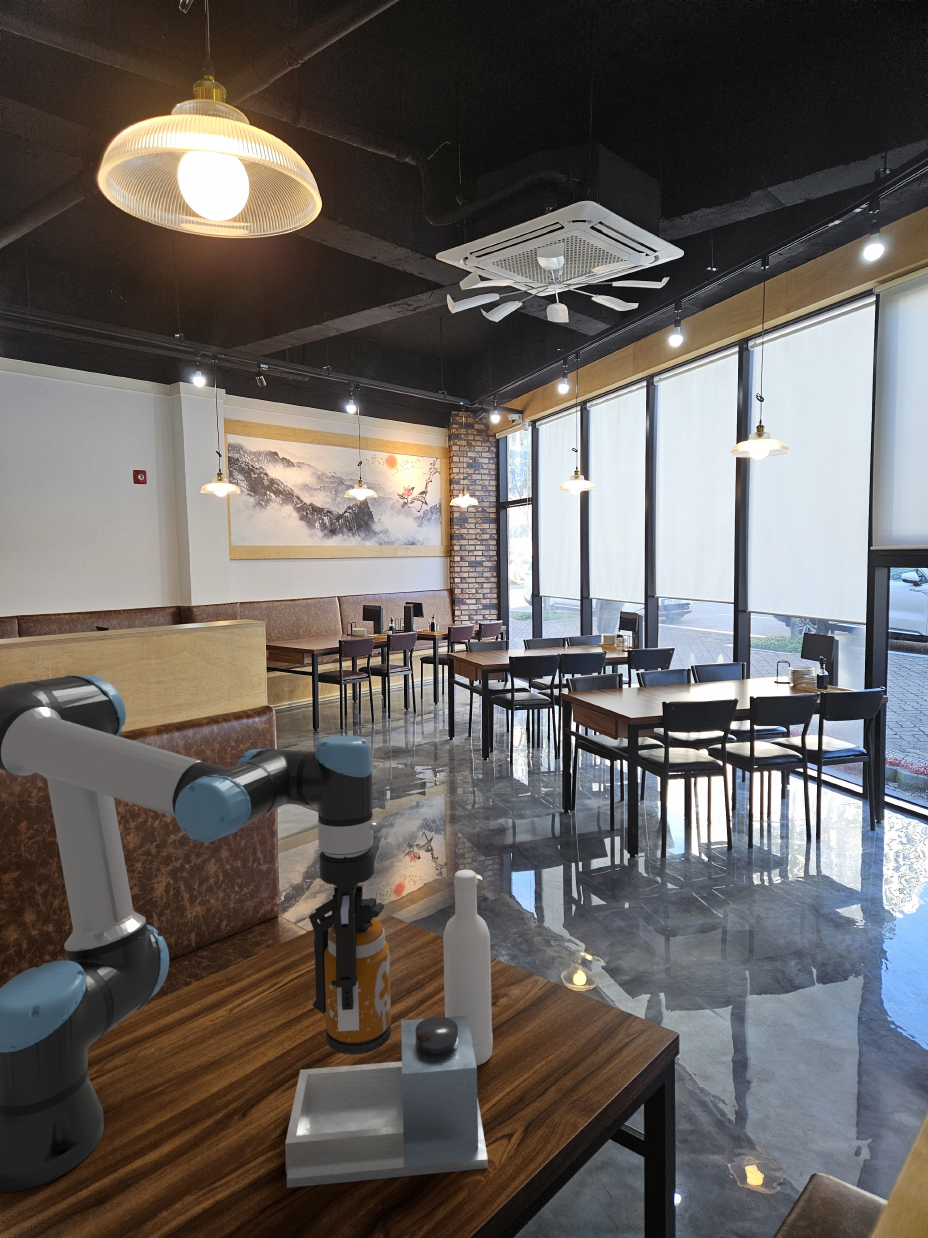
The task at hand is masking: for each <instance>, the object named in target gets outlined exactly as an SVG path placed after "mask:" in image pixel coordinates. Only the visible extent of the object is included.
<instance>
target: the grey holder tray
mask: <svg viewBox="0 0 928 1238" xmlns="http://www.w3.org/2000/svg"><path fill="white" fill-rule="evenodd" d="M400 1022H401V1023H400V1024H401V1033H400V1034H401V1036H400V1037H401V1061H392V1062H391V1061H390V1062H389V1061H388V1062H381V1063H380V1062H378V1063H367V1064H365V1063H364V1064H356V1065H343V1066H330V1067H320V1068H319V1067H318V1068H306V1069H300V1070H299V1075H298V1080H297V1084H296V1088H295V1089H296V1090H295V1094H294V1099H293V1105H292V1109H291V1115H290V1118H289V1124H288V1129H287V1133H286V1139H285V1144H284V1145H285V1147H284V1148H285V1175H286V1188H287V1189H288V1188H289V1189H291V1188H300V1187H307V1186H308V1187H309V1186H319V1185H321V1186H322V1185H331V1184H339V1183H349V1182H351V1183H352V1182H361V1181H369V1180H370V1181H373V1180H380V1179H381V1180H382V1179H389V1178H390V1179H391V1178H402V1177H409V1176H410V1177H411V1176H420V1175H421V1176H423V1175H431V1174H441V1173H442V1174H443V1173H450V1172H451V1173H452V1172H461V1171H474V1170H481V1169H488V1168H489V1160H488V1152H487V1147H486V1141H485V1136H484V1128H483V1121H482V1115H481V1111H480V1110H481V1109H480V1105H479V1099H478V1097H479V1096H478V1070H477V1069H478V1068H477V1067H478V1066H476V1060H475V1055H474V1049H473V1043H472V1037H471V1032H470V1026H469V1020H468V1015H467V1016H454V1017H445V1016H431V1017H426V1018H417V1019H406V1020H405V1019H403V1020H402V1019H401V1021H400Z"/></svg>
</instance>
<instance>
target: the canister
mask: <svg viewBox="0 0 928 1238" xmlns="http://www.w3.org/2000/svg"><path fill="white" fill-rule="evenodd" d="M384 909H385V904H383V903H382V902H377V899H376V898H375V897H369V898H362V905H361V906H360V925H359V927H357V929H356V976H357V979H358V1000H359V1030H350V1031H338V999H337V988H336V985H335V986H332V980H336V928H335V926H334V907H333V898H331V899H329V900H327V902H324V903H323V904H321V905H320V906H318V907H317V908H315V909H314V912H313V913H311V914H309V915H308V918H309V921H310V924H311V927H312V930H313V932H314V933H313V934H314V939H313V941H314V942H313V950H314V952H313V953H314V970H315V972H314V973H315V1000H314V1002H313V1003H312V1005H311V1006H312V1007H313V1008H315V1009H316V1010H318V1011H319V1012H320V1013H321V1014H323V1015H325V1028H326V1030H325V1032H326V1033H325V1035H326V1043H327V1045H328V1046H329V1048H330V1049H332V1050H333V1052H336V1053H339V1054H343V1055H351V1056H352V1055H353V1056H354V1055H355V1056H357V1055H363V1054H368V1053H371V1052H373V1051H376V1050H378V1049H379V1048H381V1047H383V1046H384V1045H385V1044H386V1043H387V1042H388V1040H389V1039H390V1037H391V1035H392V1022H391V1019H392V1016H391V1015H392V1013H391V979H390V978H391V976H390V975H391V972H390V969H391V968H390V945H389V943H388V942H387V941H386V937H385V936H386V932H385V928H384V926H383V924H382V923H381V922H380V920H378V919H376V918H377V917H379V915H380V914H381V913H382V911H383V910H384ZM330 912H331V914H329V913H330ZM327 914H329V915H327ZM326 915H327V916H326ZM355 920H356V916H355Z"/></svg>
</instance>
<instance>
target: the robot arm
mask: <svg viewBox="0 0 928 1238" xmlns="http://www.w3.org/2000/svg"><path fill="white" fill-rule="evenodd" d="M126 719H127V712H126V706H125V703H124V700H123V698H122V696H121V694H120V692H119V691H118V690H117V689H116V687H114V685H113V684H112V683H110V682H108V681H107V680H106V679H104V678H102V677H100V676H96V675H89V674H88V675H87V674H85V675H84V674H83V675H75V674H74V675H66V676H62V677H61V676H60V677H54V678H48V679H47V678H46V679H39V680H33V681H27V682H26V681H25V682H16V683H15V682H14V683H9V684H5V685H4V686H0V771H3V772H6V773H10V774H13V775H16V776H21V777H22V776H23V777H26V776H31V775H34V774H39V775H40V776H43V777H44V778H45V779H46V781H47V786H48V787H47V788H48V793H49V798H50V804H51V810H52V816H53V822H54V827H55V831H56V834H55V835H56V838H57V845H58V850H59V855H60V862H61V867H62V873H63V874H62V875H63V878H64V883H65V884H64V885H65V890H66V896H67V902H68V907H69V913H70V919H71V925H72V929H73V930H72V932H71V934H70V935H69V937H68V938H67V940H66V941H65V943H64V946H63V947H64V948H63V949H64V953H65V957H66V960H65V959H64V960H63V959H62V960H54V961H49V962H45V963H42V965H40V966H38V967H36V966H33V967H31V968H29V969H26V970H24V971H22V972H20V973H19V974H17V975H16V976H14V977H13V978H11V979H9V980H8V981H7V982H6V983H5V984H4V985H2V986H1V987H0V1192H2V1193H4V1192H5V1193H12V1192H20V1191H25V1190H29V1189H33V1188H36V1187H38V1186H42V1185H45V1184H47V1183H50V1182H52V1181H53V1180H55V1179H58V1178H59V1177H61V1176H63V1175H65V1174H67V1173H68V1172H70V1171H71V1170H73V1169H74V1168H76V1167H77V1166H78V1165H80V1164H81V1163H82V1162H83V1161H84V1160H85V1159H86V1158H88V1157H89V1156H90V1154H91V1153H92V1152H93V1151H94V1150H95V1148H97V1146H98V1144H99V1142H100V1141H101V1138H102V1136H103V1133H104V1124H105V1121H104V1109H103V1107H102V1104H101V1102H100V1100H99V1098H98V1095H97V1093H96V1091H95V1088H94V1086H93V1084H92V1082H91V1080H90V1077H89V1067H88V1066H89V1065H88V1064H89V1063H88V1049H89V1047H90V1046H91V1045H92V1044H94V1043H95V1042H96V1041H98V1040H99V1039H100V1038H101V1037H103V1036H105V1034H107V1033H108V1032H110V1031H111V1030H112V1029H113V1028H115V1027H116V1026H117V1025H119V1024H120V1023H121V1022H123V1021H124V1020H125V1019H127V1018H128V1017H129V1016H131V1015H132V1014H133V1013H134V1012H137V1011H139V1010H140V1009H142V1008H143V1007H144V1006H145V1005H146V1004H147V1003H148V1002H149V1000H151V999H152V997H153V996H155V995H156V994H157V993H158V992H159V991H160V989H161V988H162V986H163V984H164V983H165V982H166V978H167V976H168V972H169V969H170V968H169V965H170V955H169V948H168V945H167V943H166V940H165V938H164V937H163V936H162V935H161V936H160V935H159V931H158V930H157V929H156V928H155V927H154V926H152V925H150V924H147V918H146V917H145V916H144V915H142V914H140V913H138V912H136V911H135V910H134V907H133V906H134V905H133V902H132V894H131V890H130V889H131V888H130V884H129V877H128V872H127V867H126V861H125V860H126V859H125V855H124V850H123V849H124V848H123V844H122V837H121V833H120V832H121V831H120V826H119V821H118V815H117V810H116V804H115V799H117V800H121V801H124V802H127V803H131V804H134V805H137V806H140V807H143V808H145V809H150V810H152V811H155V812H159V813H162V814H164V815H168V816H171V817H174V818H175V819H176V821H177V824H178V826H179V828H180V830H182V831H184V832H185V834H186V835H188V836H187V837H188V838H190V839H192V840H194V841H197V842H201V843H202V842H203V843H206V842H207V843H209V842H213V841H217V840H218V839H220V838H224V837H228V836H230V835H232V834H234V833H236V832H238V831H239V830H240V829H242V828H244V827H245V826H247V825H249V824H251V823H253V822H254V821H257V820H258V819H260V818H262V817H263V816H266V815H268V814H269V813H271V812H273V811H275V810H276V809H279V808H280V807H282V806H285V805H297V806H298V805H299V806H315V807H316V808H317V815H318V819H317V829H318V830H317V833H318V834H317V835H318V836H317V837H318V849H319V850H320V851H321V852H319V856H318V857H319V877H320V880H321V881H323V882H324V883H325V884H326V885H327V884H328V885H333V886H334V888H333V894H332V899H333V907H334V926H335V928H336V980H332V986H335V985H336V988H337V999H338V1031H350V1030H359V1000H358V979H357V976H356V929H357V927H359V925H360V906H361V905H362V899H363V896H364V890H363V889H364V887H363V885H361V884H360V883H365V882H367V881H368V880H370V879H371V878H372V877H373V875H374V874H375V850H374V848H373V845H374V831H377V830H378V824H377V823H376V822H373V816H374V813H373V812H374V811H373V770H374V769H373V766H372V764H373V763H372V754H371V747H370V746H371V745H370V742H369V741H368V740H367V739H366V738H364V737H363V736H359V735H352V734H351V735H350V734H348V735H346V734H345V735H332V736H327V737H323V738H321V739H320V740H318V742H317V743H316V747H315V750H299V749H298V750H295V749H293V750H292V749H278V748H274V747H266V748H264V749H263V748H258V749H257V748H256V749H255V748H254V749H253V748H252V749H250V750H248V751H247V750H246V752H244V753H243V755H242V756H241V758H240V759H238V761H237V763H236V765H233V766H231V767H224V766H220V765H216V764H213V763H210V762H205V761H202V760H200V759H196V758H193V757H189V756H185V755H182V754H179V753H176V752H173V751H169V750H166V749H163V748H159V747H156V746H152V745H149V744H144V743H142V742H139V741H135V740H133V739H129V738H125V737H121V736H119V735H120V734H121V733H122V731H123V727H124V725H125V724H126ZM355 916H356V920H355Z"/></svg>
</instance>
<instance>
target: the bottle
mask: <svg viewBox="0 0 928 1238" xmlns="http://www.w3.org/2000/svg"><path fill="white" fill-rule="evenodd" d="M477 885H478V879H477V873H476V872H475V871H473V870H471V869H461V870H458V871H456V872H455V873H454V880H453V886H454V905H455V906H454V911H455V913H454V915H453V916H452V917H451V918H449V919H448V921H447V922H446V925H445V928H444V931H443V938H442V939H443V941H442V942H443V977H444V978H443V980H444V981H443V983H444V984H443V986H444V987H443V988H444V1017H454V1016H467V1015H468V1020H469V1026H470V1032H471V1037H472V1043H473V1049H474V1055H475V1060H476V1066H477V1067H478V1066H480V1065H482V1064H485V1063H486V1062H487V1061H489V1060H490V1059H491V1057H492V1054H493V1046H494V1045H493V1044H494V1040H493V1039H494V1038H493V1029H492V1028H493V1022H492V1020H493V1019H492V1016H493V1015H492V971H491V967H492V966H491V934H490V931H489V930H490V929H489V928H488V924H487V921H485V920H484V919H483V918H482V916H480V915H479V914H478V910H477V909H478V906H477V904H478V900H477V898H478V897H477V896H478V895H477V894H478V893H477V892H478V891H477V890H478V889H477Z"/></svg>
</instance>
